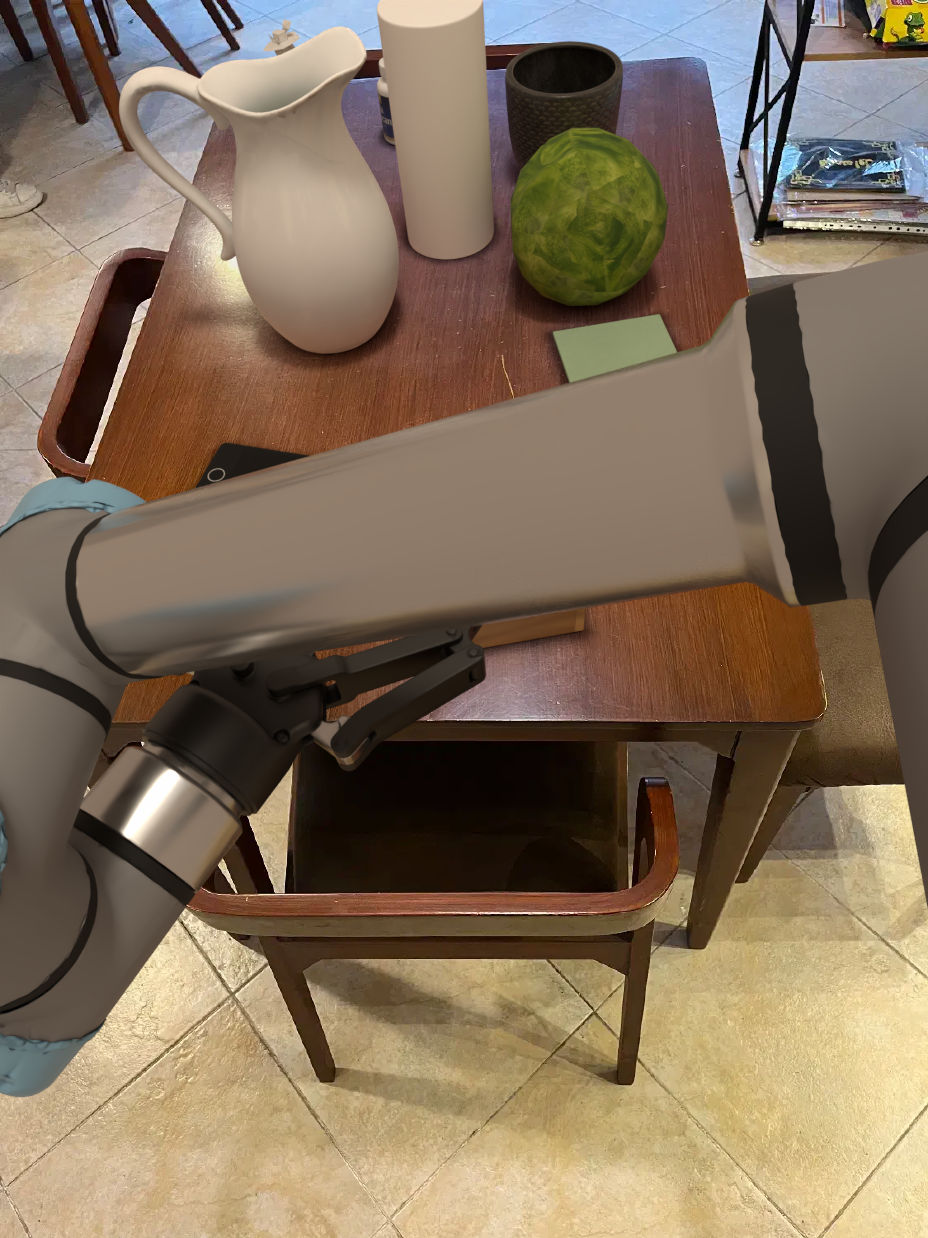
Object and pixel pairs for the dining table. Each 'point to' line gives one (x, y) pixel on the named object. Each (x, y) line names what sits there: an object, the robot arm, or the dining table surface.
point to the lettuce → (587, 217)
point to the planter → (560, 93)
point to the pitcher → (291, 189)
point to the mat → (612, 346)
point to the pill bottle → (385, 105)
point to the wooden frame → (530, 628)
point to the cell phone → (242, 462)
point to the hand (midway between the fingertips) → (409, 509)
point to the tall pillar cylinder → (440, 121)
